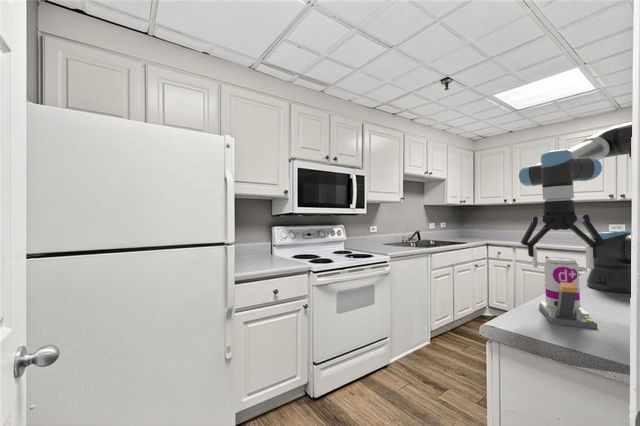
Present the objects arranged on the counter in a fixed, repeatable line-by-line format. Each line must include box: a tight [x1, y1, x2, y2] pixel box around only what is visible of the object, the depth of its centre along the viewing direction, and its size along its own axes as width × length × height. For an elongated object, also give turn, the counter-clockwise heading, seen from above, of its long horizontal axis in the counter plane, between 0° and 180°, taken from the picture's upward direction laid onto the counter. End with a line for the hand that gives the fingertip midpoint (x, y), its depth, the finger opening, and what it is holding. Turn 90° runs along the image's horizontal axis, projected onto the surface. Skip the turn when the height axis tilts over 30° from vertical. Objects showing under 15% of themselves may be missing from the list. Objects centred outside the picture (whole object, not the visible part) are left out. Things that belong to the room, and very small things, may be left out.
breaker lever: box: [555, 282, 577, 318], centre depth 81 cm, size 4×2×11 cm, turn 64°
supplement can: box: [543, 256, 581, 309], centre depth 88 cm, size 8×8×15 cm
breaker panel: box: [538, 300, 598, 330], centre depth 86 cm, size 10×14×4 cm
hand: (561, 267), depth 89 cm, fingers open, 13 cm apart
